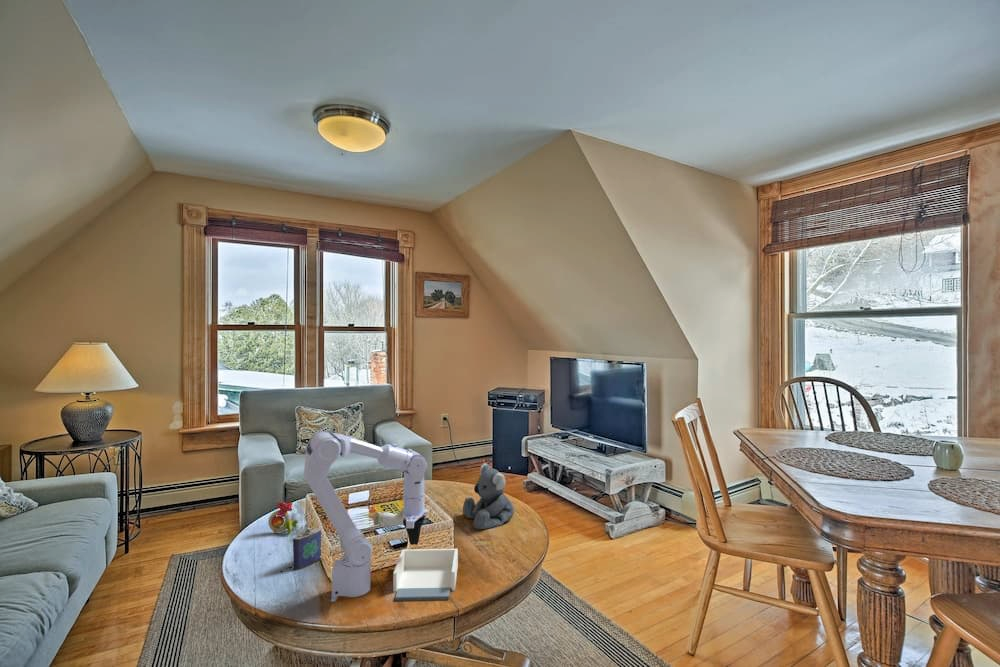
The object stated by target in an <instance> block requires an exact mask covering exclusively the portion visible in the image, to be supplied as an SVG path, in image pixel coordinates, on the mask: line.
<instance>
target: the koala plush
mask: <svg viewBox="0 0 1000 667" xmlns="http://www.w3.org/2000/svg"><path fill="white" fill-rule="evenodd" d="M479 471H480V476H478V479H477V482H476V484H475V485H474V487H473V488H474V489H473V490H474V492H475V493H476V494H477V495H478V496H479V499H478V501H477V503H476V502H475V499H474V498H473V497H465V499H464V502H463V506H462V514H463V516H464V517H466V519H474V520H473V527H474V529H476V530H480V529H482V530H488V529H491V528H495V527H500V525H501V526H502V525H504V523H506V522H508V521H509V520H510V519H511V518H512V517H513V516H514V515H515V514H514V513H515V507H514V504H513V503H512V501H511V500H510V499H509V498H508V497H507V496H506V494H505V493H504V488H505V487H506V485H507V483H506V482H507V481H506V478H505V477H506V476H505V475H504V474H502V473H501V472H499V470H498V469H495V468H491V466H490V465H489V464H487V463H486V462H483V464H481V466H480V470H479Z"/></svg>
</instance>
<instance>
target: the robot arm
mask: <svg viewBox="0 0 1000 667" xmlns="http://www.w3.org/2000/svg"><path fill="white" fill-rule="evenodd" d="M351 453H352V454H355V455H360V456H364V457H369V458H372V459H375V460H376V459H377V461H378V464H379V465H380V466H382V467H383V466H384V467H387V468H391V469H394V470H398V471H403V508H404V511H403V516H404V518H405V519H404V520H403V525H404V526H405V528H406V529H405V531H406V534H407V538H408V540H409V541H408V542H409V545H413V546H417V545H418V544H419V541H420V536H421V531H422V530H421V529H422V525H423V523H424V520H425V518H426V515H428V514H429V509H426V508H425V504H424V502H425V472H426V471H427V469H428V466H429V465H428V463H427V460H426V458H425V457H424V455H421V453H418V452H417V451H414V450H413V449H411V448H407V449H405V448H402V447H399V446H398V444H396V443H393V442H391V443H390V444H389V443H386V444H384V445H382V446H378V445H375V444H372V443H369V442H366V441H364V440H360V439H358V438H355V437H353V436H349V435H345V434H342V433H341V434H340V433H336V432H335V433H334V432H332V433H330V432H328V431H325V430H321V431H317V432H314V434H312V435H311V437H310V438H309V441H308V442H307V443H306V447H305V459H304V460H305V461H304V470H303V476H304V479H305V481H306V483H307V484H308V486H309V487H310V489H311V491H312V493H313V494H314V497H315V498H316V499H317V501H318V503H319V504H320V506H321V507H322V509H323V511H324V513H325V514H326V516H327V518H328V520H329V521H330V523H331V525H332V526H333V528H334V530H335V531H336V533H337V535H338V537H339V541H340V548H341V549H342V551H343V555H342V558H340V559H336V560H335V561H334V563H333V566H332V570H331V599H330V602H332V603H335V602H336V601H337V600H338V598H339V597H347V598H357V597H361V596H363V595H366V594H367V593H369V591H371V587H372V586H371V585H372V584H371V557H372V556H373V552H374V551H373V550H374V549H373V545H372V543H371V542H370V541H369V540H368V539H367V538H366V536H365V535H364V533H363V531H362V530H361V529H359V528H357V527H356V525H355V522H354V521H353V520H352V518H351V516H350V514H349V513H348V511H347V508H345V506H344V504H343V502H342V501H341V499H340V497H339V495H338V493H337V492H336V490H335V488H334V486H333V485H332V483H331V482H330V480H329V478H328V473H329V471H330V469H331V466H332V465H333V464H334V463H335V462H336V461H337V459H338V458H339V456H341V457H345V456H347V455H349V454H351Z"/></svg>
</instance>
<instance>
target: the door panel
mask: <svg viewBox="0 0 1000 667" xmlns="http://www.w3.org/2000/svg"><path fill="white" fill-rule="evenodd" d="M450 594H451V588H450V587H447V588H398V589H397V592H396V595H395V597H394V602H410V601H411V602H412V601H413V602H417V601H450Z"/></svg>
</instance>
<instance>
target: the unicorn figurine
mask: <svg viewBox="0 0 1000 667" xmlns="http://www.w3.org/2000/svg"><path fill="white" fill-rule="evenodd" d="M429 501H431V499H430V498H429V499H427V500H424V505H425V504H426V503H428V502H429ZM403 511H404V507H403V508H402V509H401V510H399V512H398V513H396V514H395V513H392V512H389V511H384V512H380V511H379V510H377V511H375V513H373V516H372V520H373V521H372V522H373V525H378V524H379V526H385V525H403V520H404V519H405V518H404V516H403Z"/></svg>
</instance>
